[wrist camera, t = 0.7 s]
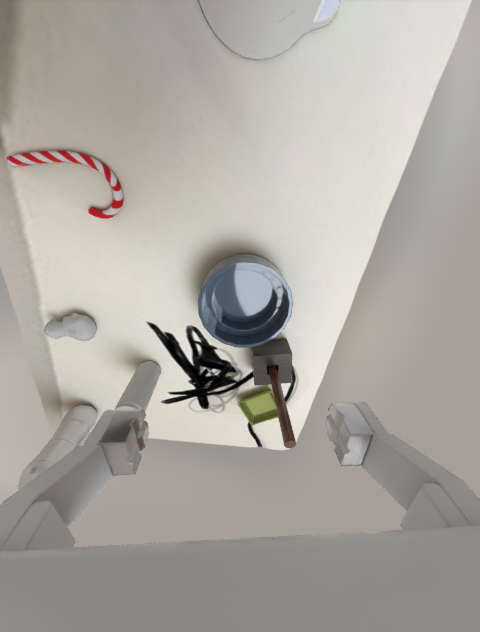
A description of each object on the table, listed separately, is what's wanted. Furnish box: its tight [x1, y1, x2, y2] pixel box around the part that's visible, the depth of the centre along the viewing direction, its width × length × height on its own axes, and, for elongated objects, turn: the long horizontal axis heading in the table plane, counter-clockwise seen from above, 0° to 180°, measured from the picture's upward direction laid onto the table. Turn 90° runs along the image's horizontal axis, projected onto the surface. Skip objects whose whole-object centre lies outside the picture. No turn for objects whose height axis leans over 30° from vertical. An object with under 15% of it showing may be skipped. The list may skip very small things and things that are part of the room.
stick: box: [268, 365, 296, 448], centre depth 40 cm, size 2×2×20 cm
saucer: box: [238, 390, 278, 425], centre depth 54 cm, size 9×9×2 cm
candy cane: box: [7, 151, 123, 218], centre depth 32 cm, size 8×1×15 cm
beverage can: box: [115, 361, 161, 411], centre depth 44 cm, size 5×5×12 cm
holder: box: [251, 339, 292, 385], centre depth 46 cm, size 7×7×5 cm
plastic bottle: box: [18, 405, 97, 490], centre depth 46 cm, size 6×7×20 cm
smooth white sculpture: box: [44, 313, 96, 341], centre depth 42 cm, size 4×8×5 cm
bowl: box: [198, 254, 293, 348], centre depth 39 cm, size 15×15×6 cm
